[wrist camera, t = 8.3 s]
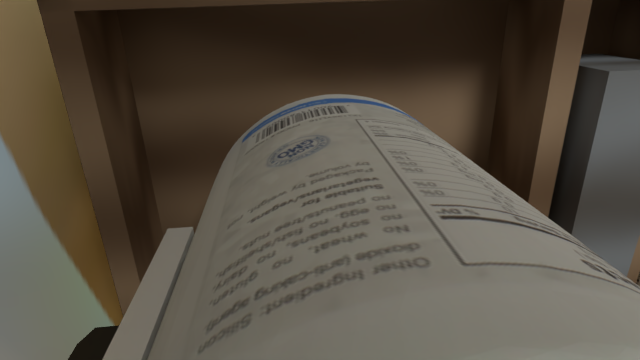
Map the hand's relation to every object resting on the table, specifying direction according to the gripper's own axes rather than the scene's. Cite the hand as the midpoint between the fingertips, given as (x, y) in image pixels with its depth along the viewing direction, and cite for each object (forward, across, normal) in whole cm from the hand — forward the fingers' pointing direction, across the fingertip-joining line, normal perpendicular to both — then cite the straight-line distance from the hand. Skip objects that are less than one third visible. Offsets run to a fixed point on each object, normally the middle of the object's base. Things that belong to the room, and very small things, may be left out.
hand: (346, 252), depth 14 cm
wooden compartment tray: (+8, +2, 0) cm, 8 cm away
